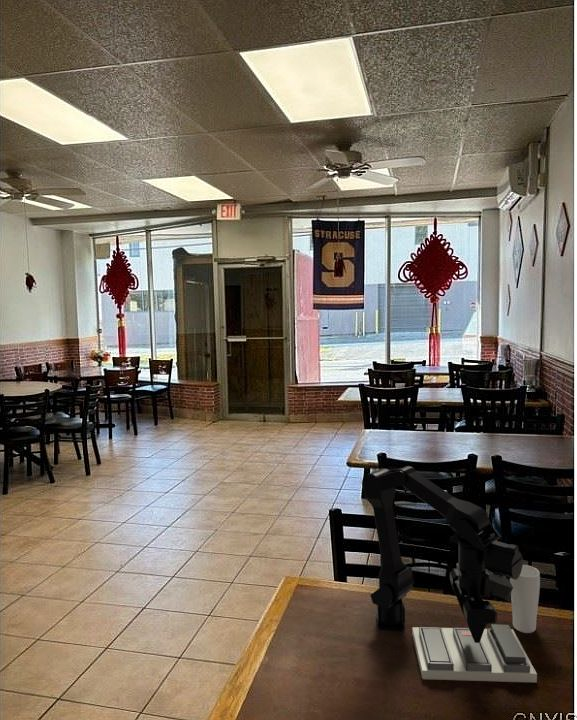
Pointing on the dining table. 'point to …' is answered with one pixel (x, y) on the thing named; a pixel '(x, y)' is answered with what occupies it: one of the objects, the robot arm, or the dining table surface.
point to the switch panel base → (471, 671)
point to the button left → (435, 645)
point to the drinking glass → (525, 599)
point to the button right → (508, 644)
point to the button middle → (470, 647)
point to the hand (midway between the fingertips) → (471, 629)
